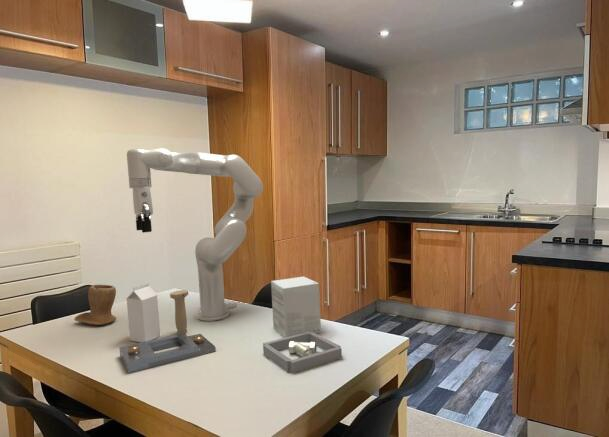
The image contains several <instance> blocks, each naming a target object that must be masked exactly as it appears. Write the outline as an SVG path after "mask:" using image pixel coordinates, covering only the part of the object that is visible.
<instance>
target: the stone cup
mask: <svg viewBox="0 0 609 437" xmlns="http://www.w3.org/2000/svg"><path fill="white" fill-rule="evenodd" d="M87 292H88V293H87V295H88V296H87V298H88V299H87V300H88V305H89V309H90V311H88V312H83V313H80V314H78V315H77V316H75V317H74V319H73V320H74V321H76V322H79V323H85V324H88V325H95V326H104V325H107V324H110V323H113V322H115V321H117V317H116V316H115V315H113V314H112V308H113V305H114V303H115V299H116V296H117V289H116V287H115V286H114V285H110V284H92V285H90V287H89V288H88V291H87Z"/></svg>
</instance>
